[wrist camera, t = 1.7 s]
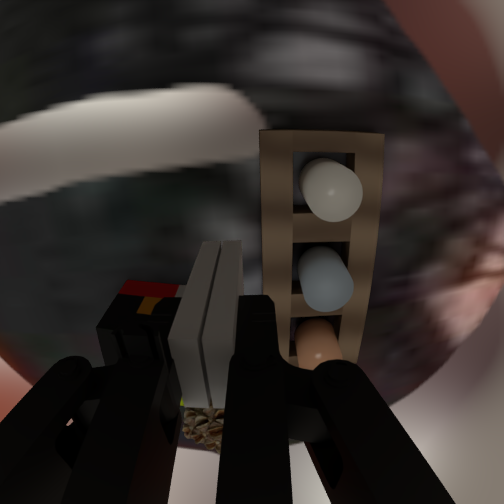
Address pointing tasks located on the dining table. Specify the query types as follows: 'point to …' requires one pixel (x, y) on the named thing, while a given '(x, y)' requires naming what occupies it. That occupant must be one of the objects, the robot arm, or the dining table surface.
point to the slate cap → (324, 279)
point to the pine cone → (204, 425)
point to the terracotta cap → (316, 343)
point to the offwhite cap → (330, 189)
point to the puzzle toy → (132, 311)
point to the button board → (318, 229)
